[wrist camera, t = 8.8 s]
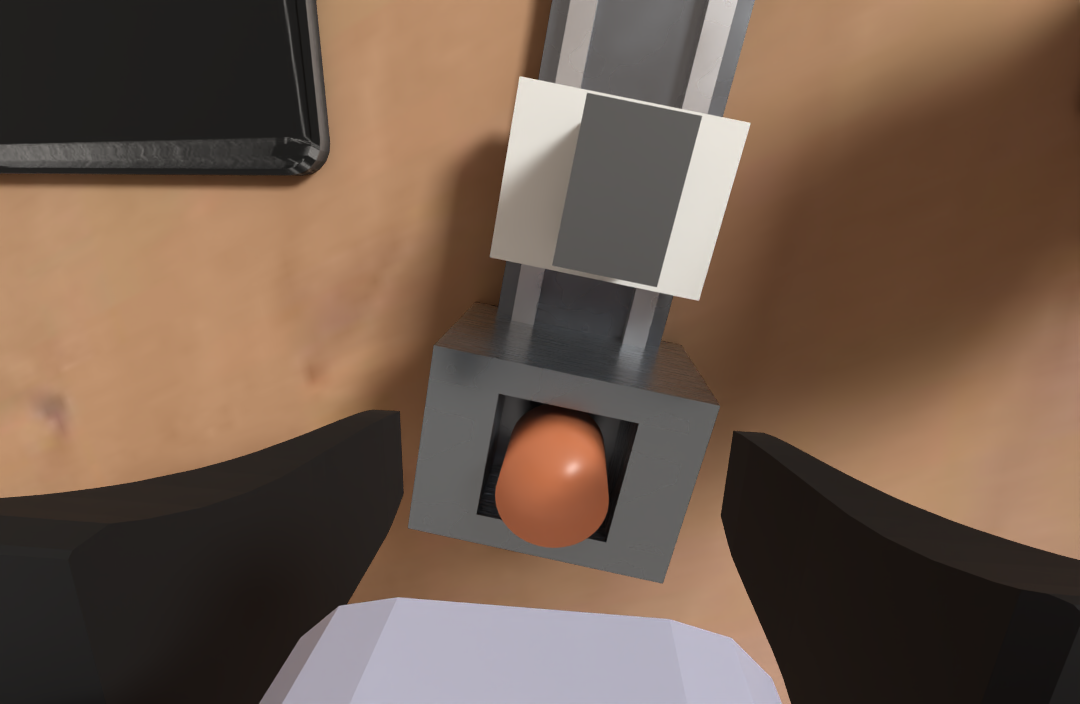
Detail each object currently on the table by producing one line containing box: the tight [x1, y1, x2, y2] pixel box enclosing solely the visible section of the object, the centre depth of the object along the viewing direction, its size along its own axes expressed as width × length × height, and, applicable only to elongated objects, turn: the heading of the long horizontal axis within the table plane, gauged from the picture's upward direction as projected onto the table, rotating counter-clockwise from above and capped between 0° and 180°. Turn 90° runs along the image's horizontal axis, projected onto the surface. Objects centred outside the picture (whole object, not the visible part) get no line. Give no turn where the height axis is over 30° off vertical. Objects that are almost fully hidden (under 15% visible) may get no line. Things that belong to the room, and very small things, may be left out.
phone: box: [0, 0, 330, 175], centre depth 19 cm, size 8×1×15 cm
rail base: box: [408, 0, 755, 583], centre depth 15 cm, size 8×30×6 cm, turn 169°
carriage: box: [490, 76, 751, 301], centre depth 14 cm, size 6×5×6 cm
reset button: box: [495, 404, 609, 548], centre depth 16 cm, size 3×3×3 cm
